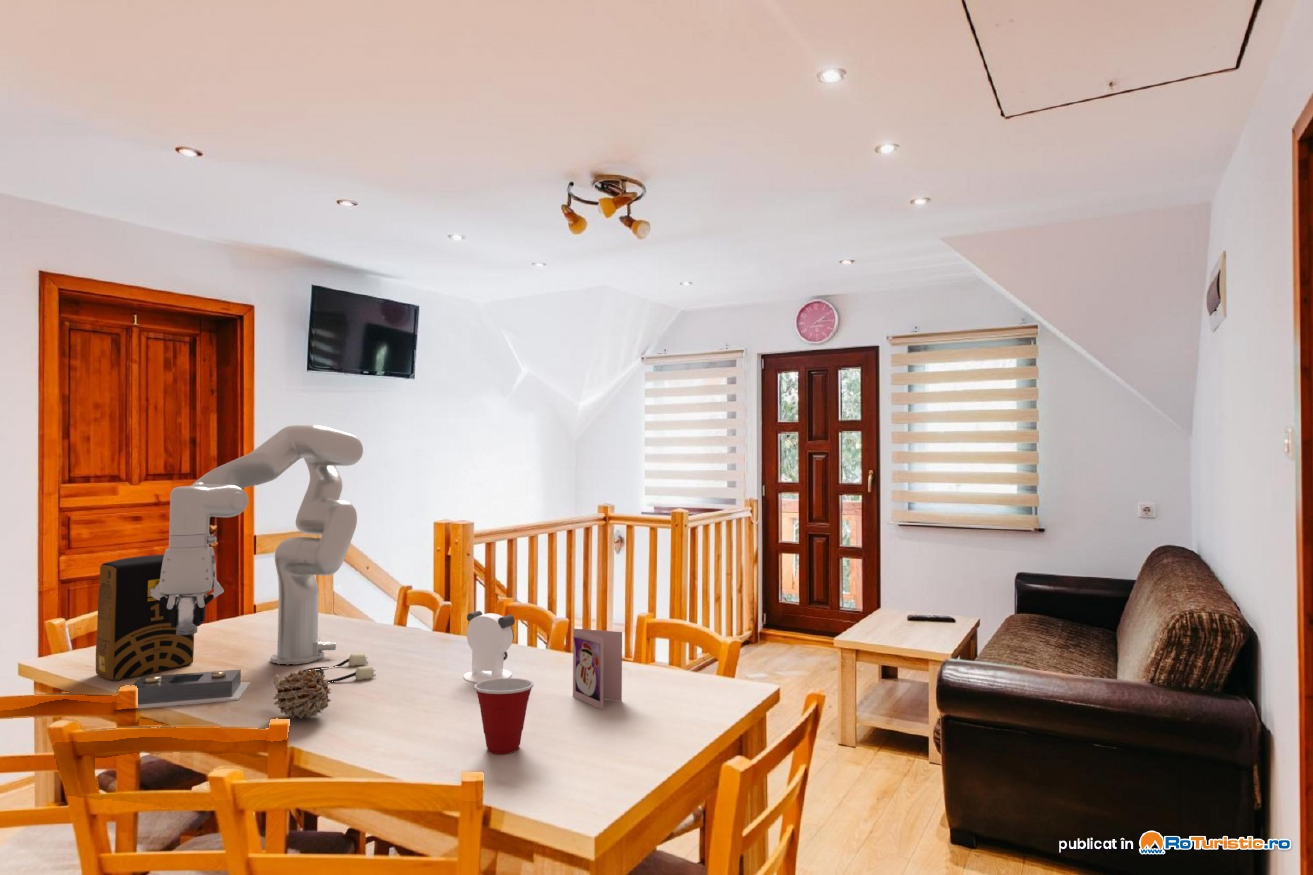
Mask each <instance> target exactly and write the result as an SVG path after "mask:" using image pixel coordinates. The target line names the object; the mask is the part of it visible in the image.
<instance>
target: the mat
mask: <svg viewBox="0 0 1313 875" xmlns="http://www.w3.org/2000/svg"><path fill="white" fill-rule="evenodd" d="M250 685H251V682H250V681H248V682H247V681H245V682H241V685H240V686H239V687H238V689H237V690H236V692H235V693H234V694H233V696H232V697H223V698H211V699H199V700H188V701H176V702H164V703H152V704H140V705H138V709H151V708H161V707H172V706H185V705H194V704H195V705H197V704H198V705H199V704H208V703H219V702H231V701H233V702H234V701H239V700H240V699H241V698H242V696H243V695H244V693H245V692H246V691H247V689H248V687H249V686H250ZM245 690H246V691H245ZM138 709H137V710H138Z"/></svg>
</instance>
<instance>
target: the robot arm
mask: <svg viewBox="0 0 1313 875" xmlns="http://www.w3.org/2000/svg"><path fill="white" fill-rule="evenodd" d="M363 448H364V446H363V444H362V441H361V440H360V439H359V438H358V437H357V436H355V435H354V434H351V433H348V432H345V431H341V430H338V429H334V428H331V427H327V426H324V425H322V426H321V425H317V424H316V425H313V424H312V425H311V424H309V425H308V424H307V425H305V424H303V425H302V424H301V425H299V424H297V425H294V424H293V425H288V426H285V427H283V428H281V429H280V430H279V431H277V432H276V433H275V434H274V435H272V436H270V437H269V438H268V439H267V440H266V441H265V442H263V443H262V444H260V446H258V447H256V448H255V449H254V450H253V451H251V452H250V453H247V454H246V455H243V456H240V457H238V458H236V459H234V460H231V461H228V462H226V463H225V464H222V465H220V466H217V467H215V468H213V469H211V470H210V471H208V472H206V473H205V474H203V476H201V477H199V478H198V479H196V481H194V482H193V483H192V484H191V485H189V486H188V485H187V486H184V485H183V486H177V487H174V488H172V490H171V492H170V497H169V503H170V504H169V528H168V529H169V530H168V532H169V533H168V534H169V536H168V548H166V549H165V551H164V553H163V555H164V557H163V562H162V568H161V576H160V582H159V584H158V585H157V586H156V588H155V589H154V590H153V591H152V593H151V596H152V597H153V598H155V599H157V600H160V601H161V602H162V603H163V604H164V605H165V606H166V607H167V609H169V623H171V628H173V627H176V616H177V597H178V596H179V595H185V594H194V595H197V600H198V608H196V615H195V626H198V627H199V626H201V625H202V624H203V622H206V610H207V608H206V606H207V605H208V604H209V603H210V602H212V600H214V599H215V598H218V597H219V596H220V595H221V594H223V593H224V591H225V589H224V588H223V587H222V585H221V584H220V582H219V581H218V580H217V567H216V566H217V564H216V557H215V556H216V555H215V550H214V547H213V546H210V545H211V544H213V543H217V536H216V535H215V536H213V535H211V533H210V518H211V517H215V518H232V517H236V516H238V515H240V514H242V513H243V512H245V510H246V509H247V507H248V505H249V496H248V494H247V492H246V491H245V490H244V489H245V488H249V487H250V488H251V487H255V486H259V485H263V484H266V483H269V482H272V481H274V480H276V479H277V478H279V476H281V475H282V474H283V473H285V472H286V471H287V470H288V469H290V467H291V466H293V465H294V464H296V462H298V461H299V460H300V459H304V461H305V464H306V466H307V468H308V473H309V483H308V486H307V489H306V492H305V494H304V496H303V498H302V502H301V503H300V506H299V509H298V511H297V514H296V518H295V526H296V529H297V530H298V531H299V532H301V533H303V534H306V535H314V536H321V537H312V536H311V537H310V536H307V537H306V536H294V537H288V538H286V539H284V540H282V541H281V542H280V543H279V544H278V545H277V547H276V550H275V551H274V564H275V569H276V570H275V571H276V573H277V580H278V581H277V582H278V583H277V584H278V601H277V603H278V604H277V605H278V607H277V610H278V611H277V613H278V614H277V652H275V653H273V654H272V655H271V656H270V662H271V663H272V664H274V663H277V664H276V665H280V664H286V665H285V666H290V665H289V664H293V665H301V664H300V663H303V664H307V663H311V662H312V661H313V662H315V660H316V661H318V660H317V659H319V660H321V659H322V658H324V656H325V651H336V650H337V649H336V648H337V642H333V641H325V642H323V640H322V641H321V637H320V636H319V594H320V590H319V584H318V581H317V579H316V577H315V576H321V577H323V576H325V577H326V576H331V575H334V574H336V573H337V572H338V571H339V570H340V569H341V567H342V565H343V563H344V561H345V558H346V555H347V553H348V550H349V548H350V545H351V542H352V539H353V537H354V534H355V531H356V528H357V524H358V514H357V510H356V508H355V506H354V505H353V504H352V503H351V502H349V501H347V500H340V497H341V494H342V491H343V480H342V477H341V475H340V473H339V470H338V468H337V466H341V467H342V466H343V467H345V466H346V467H347V466H349V467H350V466H353V465H355V464H357V463H359V461H361V459H362V457H363V453H364V449H363ZM212 590H213V592H211V591H212ZM209 592H211V593H209ZM207 593H209V594H208V595H207ZM164 594H165V595H164ZM166 595H169V597H168V596H166ZM313 662H312V663H313Z"/></svg>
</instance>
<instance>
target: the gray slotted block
mask: <svg viewBox="0 0 1313 875" xmlns="http://www.w3.org/2000/svg"><path fill="white" fill-rule="evenodd" d="M241 674H242V669H240V668H239V669H228V670H217V671H216V670H214V671H212V670H211V671H201V672H200V671H199V672H188V673H187V672H186V673H174V674H161V675H158V674H157V675H148V676H145V675H144V676H140V677H139V678H138V679H137V680H136V681H135V682H133V683H132V684H131V685H135V686H137V688H138V705H140V704H152V703H164V702H176V701H188V700H199V699H211V698H223V697H232V696H233V694H234V693H235V692H236V690H237V689H238V687H239V686H240V685H241V683H242V682H241V678H242V677H241Z"/></svg>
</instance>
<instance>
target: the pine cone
mask: <svg viewBox="0 0 1313 875" xmlns="http://www.w3.org/2000/svg"><path fill="white" fill-rule="evenodd" d="M320 674H321V673H320V672H316V670H315V669H312V670H311V671H309V670H306V671H305V672H303V670H302V669H299V670H298V671H297V672H290V674H289V675H288V676H284V679H283V678H282V677H280V676H279V675H278V674H277V673H276V674H275V675H274V676H272V682H273V685H274V687H275V688H276V693H275V696H274V697H272V699H273V700H276V701H274V703H273V705H275V706H276V705H277V708H279V709H280V713H281V714H283V713H284V715H285V716H289V715H291V717H292V718H293V719H294V718H295V716H297V715H298V716H299V717H298V716H297V717H298V718H299V719H302V718H304V717H305V718H306V719H308V717H311V718H312V717H313V716H314V717H315V716H317V714H318V713H319V714H321V713H322V711H324V709H326V708H328V706H329V702H331V701H332V699H330V698H329V694H332V693H333V692H331V691H332V689H331V688H330V687H329V685H330V684H331V683H328V681H329V680H330V679H327V678H325V677H326V675H325V673H324V674H323V676H321V675H320Z"/></svg>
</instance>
